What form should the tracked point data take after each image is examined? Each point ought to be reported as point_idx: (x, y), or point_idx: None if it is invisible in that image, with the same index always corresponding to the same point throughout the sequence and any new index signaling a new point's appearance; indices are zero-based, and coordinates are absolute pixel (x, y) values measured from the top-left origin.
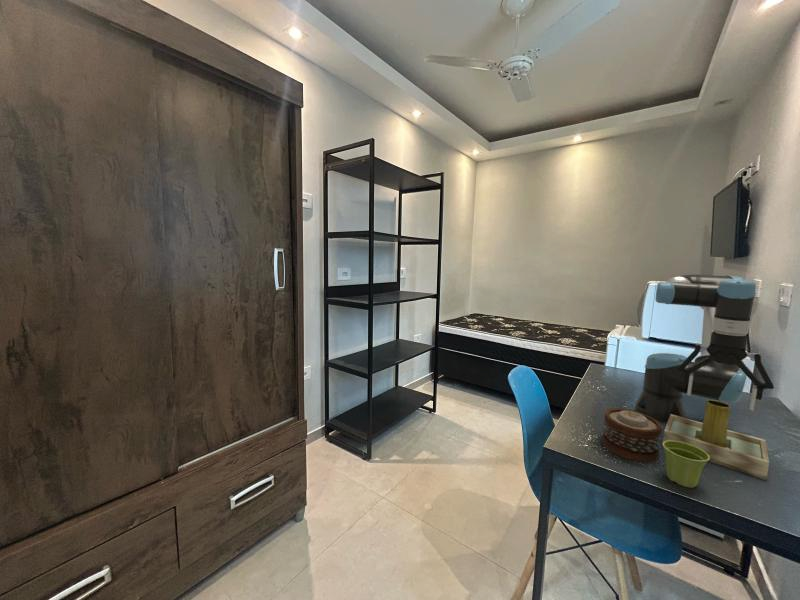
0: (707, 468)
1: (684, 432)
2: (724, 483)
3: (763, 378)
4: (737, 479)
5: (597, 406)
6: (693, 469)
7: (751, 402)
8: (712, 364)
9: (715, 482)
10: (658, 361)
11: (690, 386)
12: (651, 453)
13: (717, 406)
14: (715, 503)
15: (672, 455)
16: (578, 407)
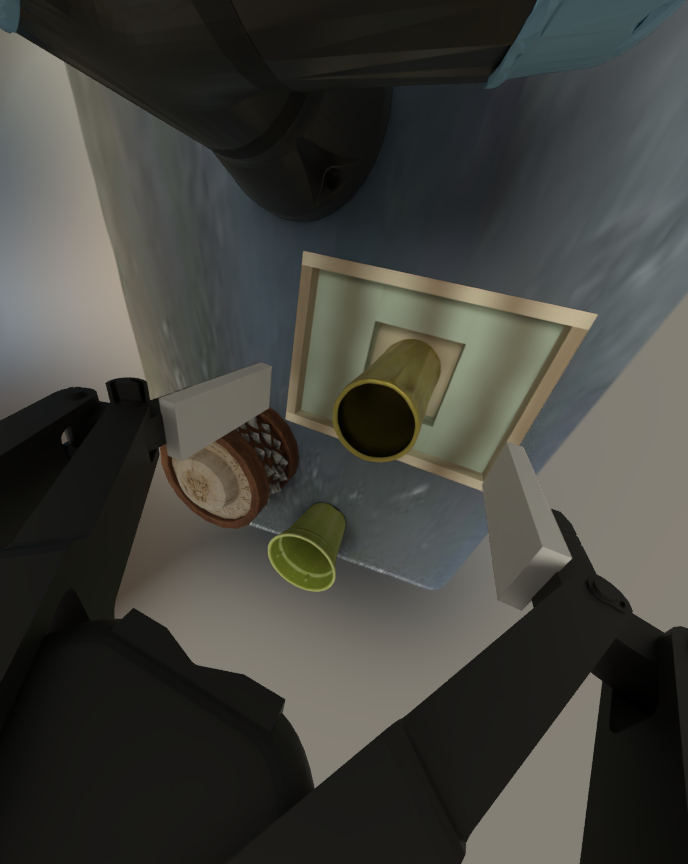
0: (376, 465)
1: (339, 365)
2: (390, 506)
3: (597, 775)
4: (420, 485)
5: (152, 220)
6: (320, 567)
7: (488, 514)
8: None
9: (376, 508)
10: None
11: (233, 425)
12: (280, 483)
13: (362, 457)
14: (361, 557)
15: (285, 568)
16: (130, 276)
